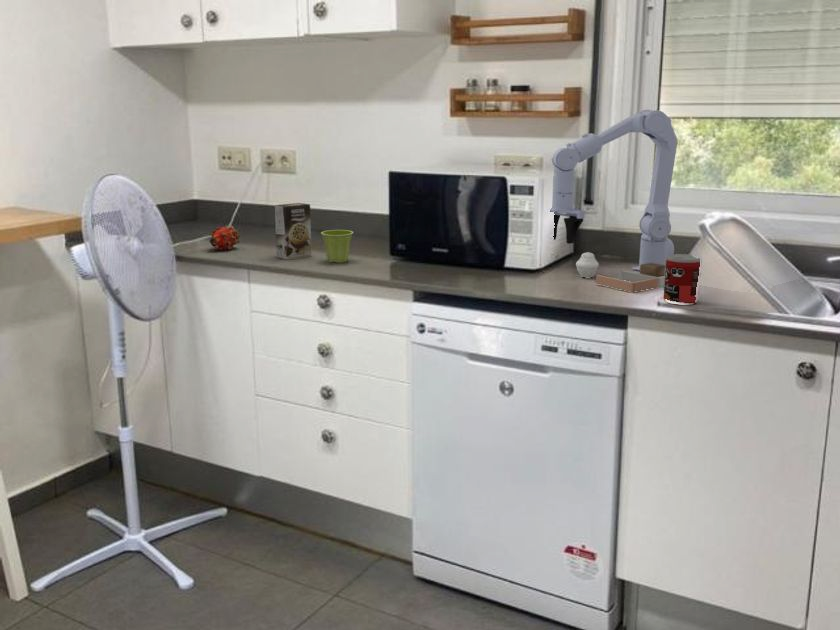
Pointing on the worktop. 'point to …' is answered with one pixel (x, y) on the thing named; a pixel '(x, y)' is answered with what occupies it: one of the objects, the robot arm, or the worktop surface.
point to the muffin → (587, 265)
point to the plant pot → (337, 244)
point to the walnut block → (652, 269)
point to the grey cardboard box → (293, 230)
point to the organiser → (632, 281)
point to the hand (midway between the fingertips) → (561, 241)
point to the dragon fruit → (224, 238)
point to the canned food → (681, 278)
